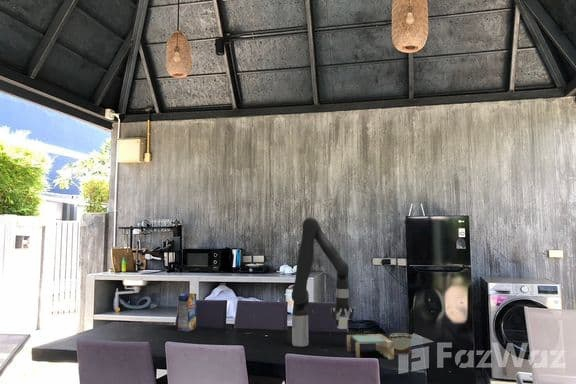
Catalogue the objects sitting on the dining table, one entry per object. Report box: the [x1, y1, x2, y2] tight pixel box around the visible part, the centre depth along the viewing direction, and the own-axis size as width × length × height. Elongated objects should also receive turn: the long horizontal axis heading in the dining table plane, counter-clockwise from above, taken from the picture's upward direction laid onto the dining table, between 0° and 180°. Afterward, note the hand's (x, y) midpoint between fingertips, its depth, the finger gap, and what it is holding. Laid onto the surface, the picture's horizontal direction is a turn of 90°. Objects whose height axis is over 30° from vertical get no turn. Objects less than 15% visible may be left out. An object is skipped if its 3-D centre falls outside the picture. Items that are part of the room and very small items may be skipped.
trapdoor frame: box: [346, 333, 395, 360], centre depth 229 cm, size 20×20×8 cm
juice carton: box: [177, 292, 197, 333], centre depth 299 cm, size 12×8×24 cm, turn 165°
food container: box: [388, 332, 413, 355], centre depth 233 cm, size 12×6×10 cm, turn 92°
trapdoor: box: [351, 334, 385, 345], centre depth 230 cm, size 14×14×1 cm
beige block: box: [336, 316, 348, 330], centre depth 249 cm, size 5×5×6 cm
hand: (342, 326), depth 249 cm, fingers closed on beige block, 5 cm apart
